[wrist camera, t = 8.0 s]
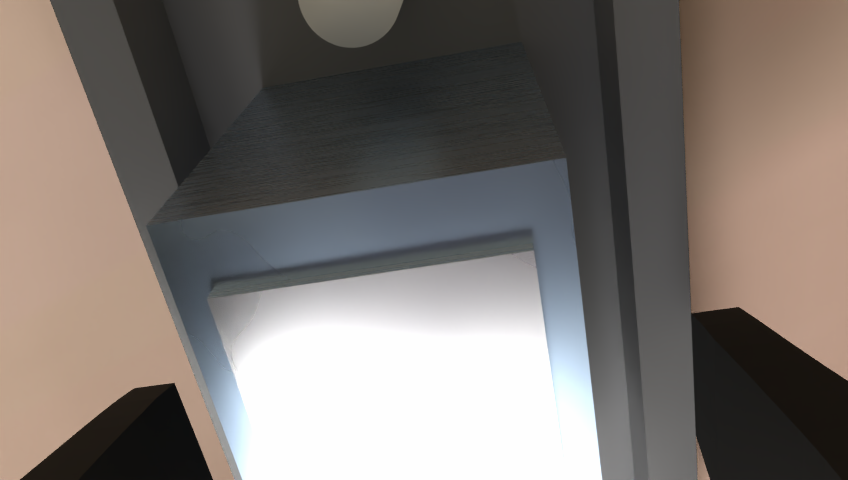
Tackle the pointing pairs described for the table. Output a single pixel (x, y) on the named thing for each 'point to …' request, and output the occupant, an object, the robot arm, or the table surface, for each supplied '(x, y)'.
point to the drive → (389, 278)
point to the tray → (425, 38)
